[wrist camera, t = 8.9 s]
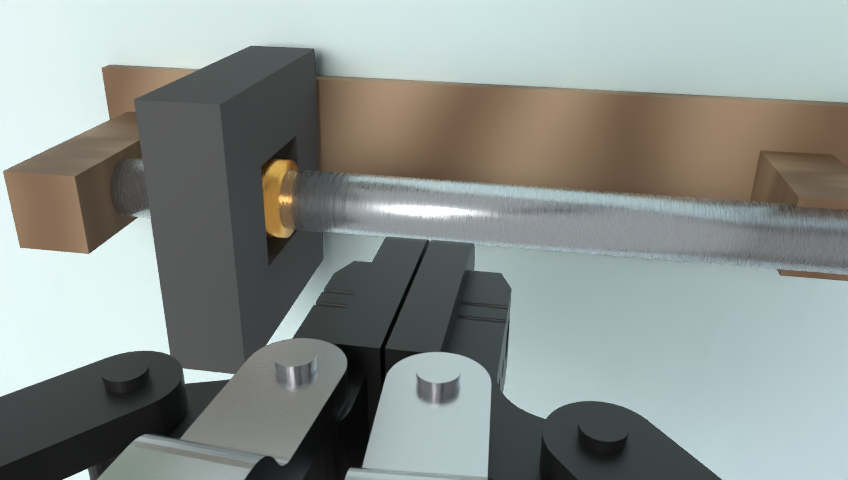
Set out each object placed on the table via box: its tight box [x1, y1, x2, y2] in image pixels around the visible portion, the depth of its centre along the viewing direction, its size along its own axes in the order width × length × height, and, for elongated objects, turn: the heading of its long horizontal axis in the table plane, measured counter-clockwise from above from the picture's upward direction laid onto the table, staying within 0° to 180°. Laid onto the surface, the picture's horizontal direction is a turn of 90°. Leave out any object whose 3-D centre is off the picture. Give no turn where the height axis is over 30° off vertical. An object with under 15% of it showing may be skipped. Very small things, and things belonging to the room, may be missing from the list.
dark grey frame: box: [134, 46, 323, 374], centre depth 25 cm, size 2×8×8 cm, turn 178°
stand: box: [3, 65, 848, 281], centre depth 25 cm, size 28×6×8 cm, turn 88°
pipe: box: [111, 158, 848, 275], centre depth 24 cm, size 25×3×3 cm, turn 88°
